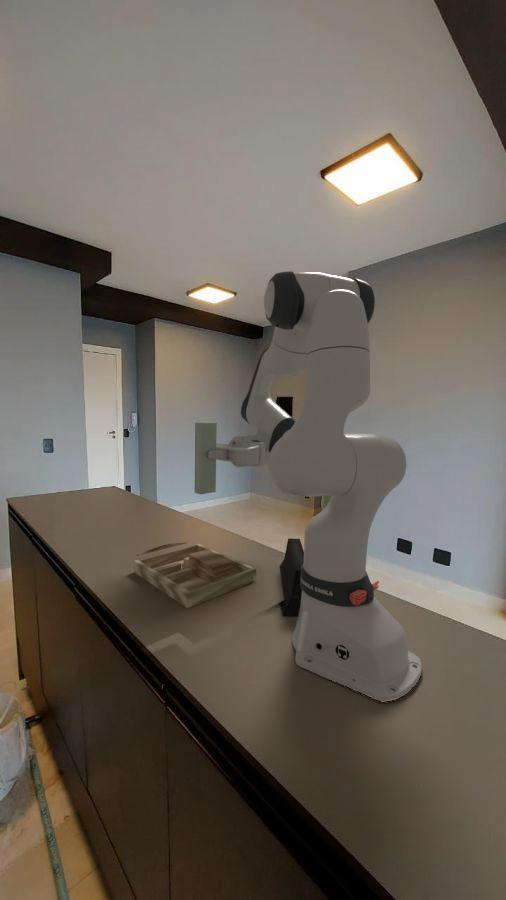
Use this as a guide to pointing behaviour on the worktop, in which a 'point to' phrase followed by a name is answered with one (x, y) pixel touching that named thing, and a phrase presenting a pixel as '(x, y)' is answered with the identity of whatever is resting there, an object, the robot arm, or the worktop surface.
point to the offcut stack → (209, 566)
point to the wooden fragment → (161, 548)
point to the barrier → (292, 578)
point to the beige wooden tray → (189, 576)
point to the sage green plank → (203, 465)
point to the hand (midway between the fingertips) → (202, 454)
